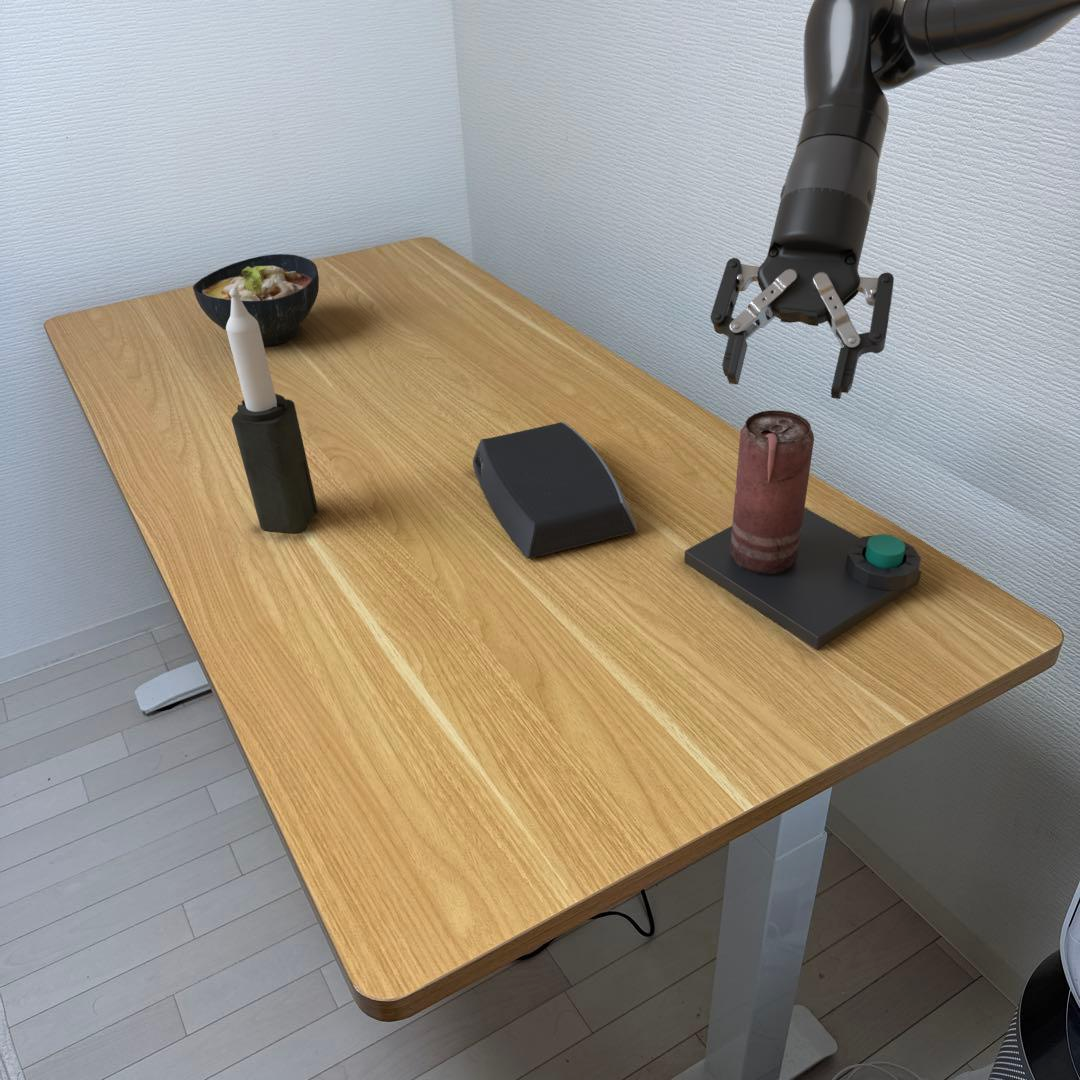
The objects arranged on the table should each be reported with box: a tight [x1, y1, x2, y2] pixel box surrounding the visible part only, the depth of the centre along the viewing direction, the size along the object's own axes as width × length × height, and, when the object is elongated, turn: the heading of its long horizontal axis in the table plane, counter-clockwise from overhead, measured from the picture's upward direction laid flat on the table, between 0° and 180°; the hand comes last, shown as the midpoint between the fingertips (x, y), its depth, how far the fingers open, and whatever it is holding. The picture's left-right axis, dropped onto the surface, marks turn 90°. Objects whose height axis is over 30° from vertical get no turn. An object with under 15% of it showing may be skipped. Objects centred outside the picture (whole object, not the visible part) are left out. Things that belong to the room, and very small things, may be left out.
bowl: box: [192, 253, 320, 348], centre depth 137 cm, size 17×17×10 cm
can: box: [730, 409, 815, 575], centre depth 85 cm, size 6×6×14 cm
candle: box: [225, 289, 319, 534], centre depth 93 cm, size 5×5×25 cm
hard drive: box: [472, 421, 639, 559], centre depth 100 cm, size 13×19×4 cm
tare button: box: [865, 533, 905, 569], centre depth 86 cm, size 3×3×2 cm
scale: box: [683, 507, 923, 651], centre depth 88 cm, size 16×14×3 cm
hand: (782, 388), depth 80 cm, fingers open, 8 cm apart
